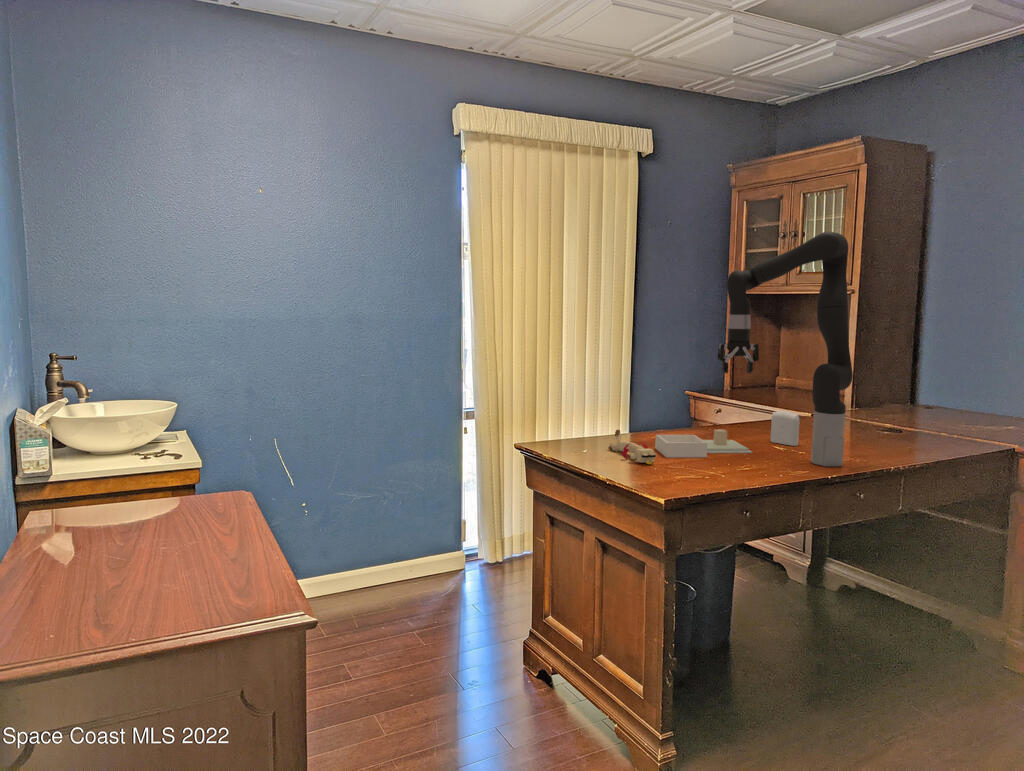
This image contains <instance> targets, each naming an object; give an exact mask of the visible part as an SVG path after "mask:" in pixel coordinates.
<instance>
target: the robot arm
mask: <svg viewBox="0 0 1024 771" xmlns="http://www.w3.org/2000/svg"><path fill="white" fill-rule="evenodd" d="M848 258H849V243H848V240H847V238H846V237H845V236H844V235H843V234H841V233H838V232H834V231H823V232H821V233H819V234H817V235H815V236H813V237H811V239H809V240H807V241H805V242H803V243H802V244H800V245H798V246H797V247H794V248H792V249H790V250H788V251H785V252H784V253H781V254H778V255H776V256H773V257H771V258H768V259H766V260H763V261H761V262H758V263H757V264H755V265H754V266H753V267H752V268H749V269H747V270H735V271H731V273H730V274H728V277H727V281H726V286H727V288H726V289H727V294H728V298H729V316H728V317H729V318H728V323H727V328H728V329H727V344H726V343H725V344H723V343H719V344H718V349H717V360H718V361H720V362H722V366H721V367H722V368H721V370H722V372H723V373H724V374H728V373H729V362H730V360H731V358H733V357H739V356H740V357H744V358H745V359H746V361H747V362H746V373H747V374H751V373H752V372H753V370H754V369H753V368H754V362H755V363H756V362H758V361H759V360H760V359H759V358H760V357H759V354H760V353H759V344H757V343H752V344H751V323H752V322H751V320H752V319H751V306H752V304H751V300H750V299H749V298H748V296H747V291H750V290H753V289H755V288H757V287H759V286H760V285H762V284H764V283H766V282H767V283H768V282H770V281H773V280H775V279H778V278H780V277H782V276H785V275H786V274H788V273H791V272H792V271H793V270H795V269H797V268H799V267H801V266H803V265H807V264H810V263H813V262H819V261H821V263H822V264H821V265H822V283H821V285H820V289H819V292H818V297H817V300H816V316H817V317H816V321H817V322H816V323H817V325H818V329H819V331H820V333H821V335H822V338H823V340H824V342H825V345H826V350H827V362H826V363H822V364H820V365H818V366H817V367H816V369H815V370H814V373H813V378H812V403H813V405H814V410H813V412H814V413H813V426H812V442H811V453H810V454H811V456H810V462H811V463H812V464H814V465H818V466H822V467H843V458H844V446H845V438H844V433H845V422H846V421H845V419H846V408H847V407H846V404H845V403H844V402H842V401H841V395H840V394H841V391H844V390H847V389H848V388H849V387H850V386H851V384H852V381H853V376H854V375H853V374H854V373H853V366H852V365H853V364H852V361H851V352H850V341H849V340H850V334H849V333H850V332H849V301H848V300H849V299H848V284H847V283H848V282H847V281H848V280H847V271H848V270H847V268H848ZM726 349H727V350H728V351H727V353H725V350H726ZM750 349H751V351H752V352H751V353H752V355H751V353H750V351H749V350H750ZM724 355H725V356H724Z"/></svg>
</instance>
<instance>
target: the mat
mask: <svg viewBox="0 0 1024 771" xmlns="http://www.w3.org/2000/svg"><path fill="white" fill-rule="evenodd" d="M707 454H753V451H752V450H749V449H748V451H707Z"/></svg>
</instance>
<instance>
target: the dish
mask: <svg viewBox="0 0 1024 771" xmlns="http://www.w3.org/2000/svg"><path fill="white" fill-rule="evenodd" d="M704 440H705V439H702V438H700V437H699V436H697V435H695V434H655V445H654V446H655V450H656V451H658V453H660V454H661V455H662V456H663V457H664V458H668V459H669V458H675V459H677V458H708V453H707V444H708V443H707V442H705V441H704Z"/></svg>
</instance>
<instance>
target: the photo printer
mask: <svg viewBox="0 0 1024 771" xmlns="http://www.w3.org/2000/svg"><path fill="white" fill-rule="evenodd" d="M799 433H800V416H799V414H797V413H794V412H793V411H787V410H777V411H773V412H772V415H771V424H770V443H772V444H773V443H774V444H780V445H787V446H790V447H791V446H793V447H798V445H799V437H800V434H799Z"/></svg>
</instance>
